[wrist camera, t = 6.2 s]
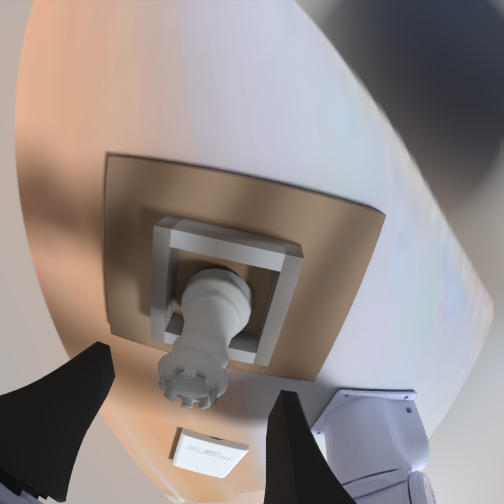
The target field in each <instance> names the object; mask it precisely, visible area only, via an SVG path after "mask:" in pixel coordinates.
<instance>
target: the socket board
mask: <svg viewBox="0 0 504 504" xmlns="http://www.w3.org/2000/svg"><path fill="white" fill-rule="evenodd" d="M385 217H386V215H385V214H384V213H383V212H381V211H379V210H376V209H373V208H370V207H366V206H363V205H360V204H356V203H353V202H349V201H346V200H342V199H339V198H335V197H331V196H328V195H324V194H320V193H316V192H313V191H309V190H305V189H301V188H297V187H293V186H288V185H284V184H280V183H276V182H271V181H267V180H262V179H258V178H253V177H248V176H244V175H239V174H234V173H229V172H224V171H218V170H213V169H207V168H202V167H196V166H190V165H184V164H178V163H171V162H165V161H158V160H151V159H143V158H135V157H127V156H118V155H115V156H110V157H108V166H107V177H106V192H105V218H104V250H105V276H106V291H107V303H108V313H109V322H110V330H111V334H113V335H116V336H119V337H122V338H125V339H127V340H130V341H133V342H136V343H139V344H143V345H146V346H149V347H152V348H155V349H159V350H162V351H165V352H169V353H171V352H172V346H173V343H174V341H175V340H176V338H177V337H179V336H181V334H182V331H183V327H184V322H185V321H184V318H183V313H182V310H181V302H182V294H183V292H184V291H185V286H186V284H187V283H188V281H189V280H190V278H191V277H192V276H193V275H195V274H197V273H199V272H200V271H202V270H207V269H215V268H217V269H222V270H226V271H230V272H232V273H234V274H235V275H237V276H238V277H240V278H241V279H243V280H244V281H245V283H246V284H247V286H248V287H249V288H250V290H251V292H252V297H253V302H254V303H253V307H252V311H251V314H250V318H249V321H248V323H247V324H246V325H245V327H244V328H243V329H242V330H241V331H240V332H239V333H237V334H236V335H235V336H234V337H232V338H231V341H230V343H229V345H228V347H227V350H226V351H227V354H228V357H229V359H228V364H227V366H226V367H229V368H233V369H238V370H243V371H248V372H254V373H259V374H265V375H271V376H277V377H283V378H290V379H297V380H305V381H313V382H314V381H315V379H316V377H317V375H318V373H319V371H320V369H321V368H322V366H323V364H324V362H325V360H326V358H327V356H328V354H329V352H330V350H331V348H332V346H333V344H334V342H335V340H336V338H337V336H338V334H339V332H340V330H341V328H342V326H343V323H344V321H345V319H346V317H347V315H348V313H349V310H350V308H351V306H352V304H353V301H354V299H355V297H356V294H357V292H358V290H359V287H360V285H361V282H362V280H363V277H364V275H365V272H366V270H367V267H368V265H369V262H370V260H371V257H372V254H373V252H374V249H375V246H376V243H377V241H378V238H379V235H380V232H381V229H382V226H383V223H384V220H385Z"/></svg>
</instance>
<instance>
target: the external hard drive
mask: <svg viewBox="0 0 504 504" xmlns="http://www.w3.org/2000/svg"><path fill="white" fill-rule="evenodd" d="M248 450H249V445H246V444H241V443H236V442H232V441H227V440H223V439H221V440H220V439H216V438H212V437H211V436H208V435H204V434H200V433H197V432H194V431H190V430H187V429H184V428H183V429H182V432H181V435H180V438H179V441H178V444H177V447H176V451H175V454H174V457H173V460H172V464H173V465H174V466H177V467H180V468H184V469H187V470H191V471H194V472H198V473H202V474H206V475H210V476H214V477H219V478H224V477H225V476H226V475H227V474H228V473H229V472H230V471H231V469H232V468H233V467H234V466H235V465H236V464H237V463H238V462H239V461H240V459H241V458H242V457H243V456H244V455H245V454H246V453H247V451H248Z"/></svg>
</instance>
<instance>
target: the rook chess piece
mask: <svg viewBox="0 0 504 504" xmlns="http://www.w3.org/2000/svg"><path fill="white" fill-rule="evenodd" d="M253 303H254V302H253V297H252V292H251V290H250V288H249V287H248V286H247V284H246V283H245V281H244V280H243V279H241V278H240V277H238V276H237V275H235V274H234V273H232V272H230V271H226V270H222V269H217V268H215V269H207V270H202V271H200V272H199V273H197V274H195V275H193V276H192V277H191V278H190V280H189V281H188V283H187V284H186V286H185V291H184V292H183V294H182V302H181V310H182V313H183V318H184V321H185V322H184V327H183V331H182V334H181V336H179V337H177V338H176V340H175V341H174V343H173V346H172V352H171V353H169V354H166V355H164V356H163V357H162V358H161V360H160V361H159V363H158V372H159V374H160V376H161V379H160V389H165V390H166V392H165V394H164V396H165V397H166V398H168V399H169V400H170V401H171V402H172V401H174V400H175V398H176V396H178V397H180V398H182V399H183V402H182V405H181V407H184V408H188V409H192V406H193V403H194V402H200V403H199V407H200V408H201V410H203V409H207V408H210V406H211V402H213V403H216V399H217V397H219V396H220V395H222V394H223V393H224V392H225V391H226V390H227V388H228V384H229V379H228V377H227V374H226V372H225V370H224V368H225V367H226V366H227V364H228V359H229V357H228V354H227V351H226V350H227V347H228V345H229V343H230V341H231V338H232V337H234V336H235V335H236V334H237V333H239V332H240V331H241V330H242V329H243V328H244V327H245V325H246V324H247V323H248V321H249V318H250V314H251V311H252V307H253ZM166 388H167V389H166Z"/></svg>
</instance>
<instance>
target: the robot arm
mask: <svg viewBox="0 0 504 504" xmlns="http://www.w3.org/2000/svg"><path fill="white" fill-rule="evenodd" d="M114 378H115V372H114V367H113V362H112V357H111V351H110V346H109V345H106V344H104V343H101V342H98V341H97V342H96V343H94V344H93V345H91V346H90V347H88V348H87V349H86V350H84V351H83V352H81V353H80V354H78V355H77V356H76V357H74V358H73V359H71V360H70V361H68V362H67V363H65V364H64V365H62V366H61V367H59V368H58V369H56V370H54V371H53V372H51V373H49V374H48V375H46V376H44V377H43V378H41V379H39V380H37V381H35V382H33V383H31V384H29V385H27V386H25V387H23V388H20V389H17V390H15V391H12V392H9V393H7V394H3V395H0V504H43V503H42V502H40V501H39V500H38V497H39V496H41V497H42V498H44V499H47V497H48V496H49V497H51V498H52V499H54V500H56V501H57V502H65V501H66V495H67V491H68V485H69V481H70V477H71V473H72V470H73V466H74V463H75V460H76V457H77V454H78V451H79V449H80V446H81V443H82V441H83V438H84V436H85V434H86V432H87V430H88V428H89V427H90V425H91V423H92V421H93V419H94V418H95V416H96V414H97V413H98V411H99V409H100V407H101V406H102V404H103V402H104V400H105V399H106V397H107V395H108V393H109V390H110V388H111V386H112V383H113V381H114ZM417 396H418V394H417V392H382V391H358V390H339V391H337V392H336V394H335V395H334V397H333V398H332V400H331V401H330V403H329V404H328V406H327V407H326V409H325V410H324V411H323V413H322V414H321V416H320V417H319V418H318V420H317V421H316V423H315V424H314V425H313V427H312V428H311V429H310V427H309V425H308V422H307V420H306V417H305V414H304V412H303V409H302V406H301V403H300V400H299V397H298V394H297V393H296V392H291V391H284V390H281V392H280V394H279V396H278V398H277V400H276V402H275V405H274V407H273V409H272V411H271V413H270V415H269V418H268V425H267V434H266V489H265V497H264V504H436V500H435V496H434V493H433V489H432V486H431V483H430V481H429V479H428V477H427V475H426V474H425V473H422V472H421V471H422V470H423V468H424V467H425V465H426V463H427V461H428V457H429V442H428V438H427V435H426V432H425V429H424V427H423V424H422V421H421V418H420V416H419V413H418V410H417V408H416V405H415V402H414V400H415V398H416V397H417ZM313 435H325V442H326V453H327V462H326V460H325V458H324V456H323V455H322V453H321V451H320V449H319V447H318V445H317V443H316V441H315V438H314V436H313Z"/></svg>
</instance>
